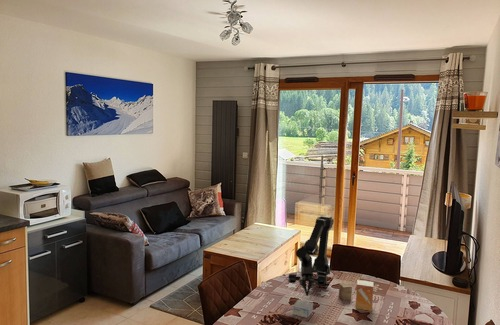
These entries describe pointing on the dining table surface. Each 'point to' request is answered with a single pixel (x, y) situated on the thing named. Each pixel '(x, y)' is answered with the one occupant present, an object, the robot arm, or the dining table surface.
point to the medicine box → (302, 308)
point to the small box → (364, 295)
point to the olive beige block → (345, 291)
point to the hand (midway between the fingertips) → (307, 295)
